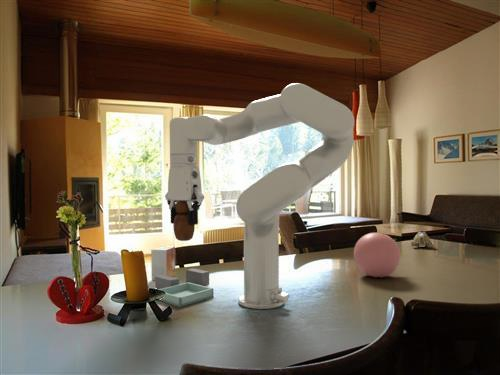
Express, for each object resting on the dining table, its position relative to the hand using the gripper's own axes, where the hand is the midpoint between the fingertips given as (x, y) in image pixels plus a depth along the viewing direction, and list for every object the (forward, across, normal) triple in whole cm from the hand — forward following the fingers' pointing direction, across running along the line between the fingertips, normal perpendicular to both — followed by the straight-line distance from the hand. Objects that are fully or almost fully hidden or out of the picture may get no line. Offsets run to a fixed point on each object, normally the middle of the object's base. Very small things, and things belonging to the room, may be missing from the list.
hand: (184, 223), depth 113 cm
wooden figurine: (+5, 0, 0) cm, 5 cm away
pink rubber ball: (+22, -31, -62) cm, 73 cm away
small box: (+22, +25, -11) cm, 35 cm away
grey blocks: (+21, +11, -8) cm, 25 cm away
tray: (+21, 0, 0) cm, 21 cm away
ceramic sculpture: (+22, -22, -135) cm, 139 cm away
